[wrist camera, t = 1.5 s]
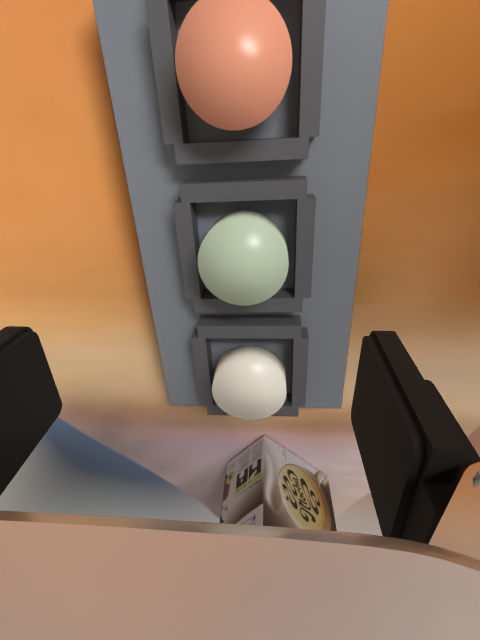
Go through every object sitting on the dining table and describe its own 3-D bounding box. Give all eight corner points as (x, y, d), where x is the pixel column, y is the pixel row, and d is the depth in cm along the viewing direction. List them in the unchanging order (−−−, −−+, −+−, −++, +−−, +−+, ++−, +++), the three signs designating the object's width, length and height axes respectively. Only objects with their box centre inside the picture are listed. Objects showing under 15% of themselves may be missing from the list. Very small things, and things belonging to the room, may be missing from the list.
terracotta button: (291, -4, 15) (293, -21, 14) (289, 127, 18) (291, 127, 16) (178, 6, 16) (166, -9, 14) (191, 132, 18) (182, 133, 17)
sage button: (288, 208, 20) (289, 217, 18) (286, 290, 22) (288, 305, 20) (199, 211, 20) (192, 220, 18) (207, 291, 23) (202, 306, 21)
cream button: (286, 344, 24) (287, 362, 22) (285, 401, 27) (286, 420, 25) (213, 344, 25) (208, 361, 23) (218, 400, 27) (215, 419, 25)
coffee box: (224, 464, 37) (194, 671, 23) (264, 432, 35) (259, 645, 20) (288, 503, 40) (297, 714, 25) (331, 476, 37) (367, 695, 23)
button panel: (378, -37, 18) (407, -82, 14) (335, 384, 31) (344, 422, 27) (111, -11, 19) (70, -46, 15) (178, 382, 32) (164, 418, 28)
